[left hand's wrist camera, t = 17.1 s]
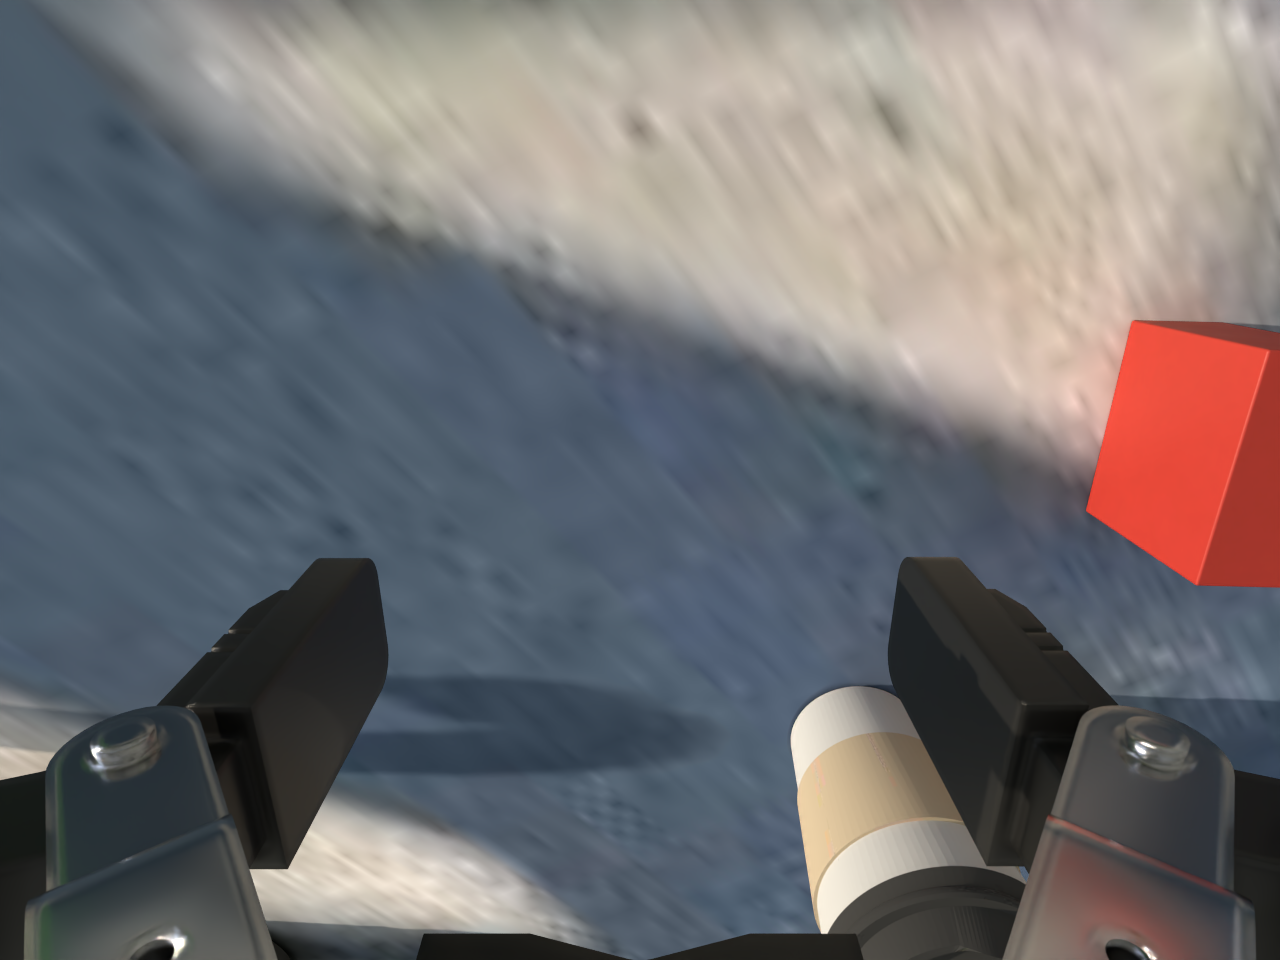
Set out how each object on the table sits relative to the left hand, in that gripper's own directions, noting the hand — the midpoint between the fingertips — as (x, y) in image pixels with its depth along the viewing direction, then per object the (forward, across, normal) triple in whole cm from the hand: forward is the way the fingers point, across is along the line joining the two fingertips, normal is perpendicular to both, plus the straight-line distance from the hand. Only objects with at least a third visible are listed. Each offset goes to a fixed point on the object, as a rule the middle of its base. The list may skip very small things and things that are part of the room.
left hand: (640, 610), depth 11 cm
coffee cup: (+23, +12, -22) cm, 33 cm away
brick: (+23, +24, -4) cm, 33 cm away
